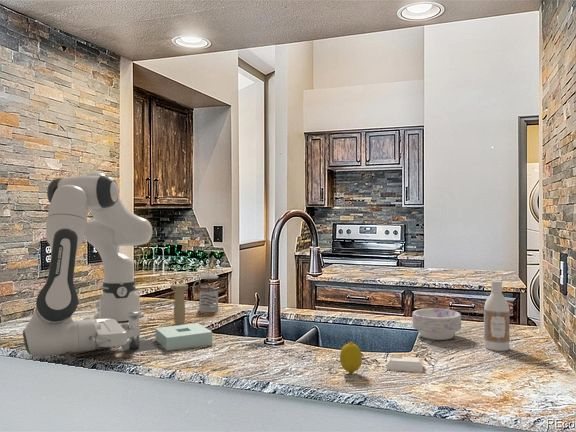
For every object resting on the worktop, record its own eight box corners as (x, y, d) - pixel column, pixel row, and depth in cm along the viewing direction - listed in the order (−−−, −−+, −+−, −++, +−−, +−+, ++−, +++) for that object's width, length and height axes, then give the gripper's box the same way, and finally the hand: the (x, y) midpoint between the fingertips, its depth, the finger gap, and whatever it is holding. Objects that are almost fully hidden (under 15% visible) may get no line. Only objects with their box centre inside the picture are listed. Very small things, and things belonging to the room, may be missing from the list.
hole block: (155, 340, 157) (155, 328, 157) (197, 334, 164) (197, 322, 164) (167, 351, 145) (167, 337, 145) (212, 344, 151) (212, 331, 151)
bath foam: (485, 350, 144) (485, 282, 143) (483, 344, 150) (483, 279, 150) (511, 352, 142) (510, 283, 141) (507, 346, 148) (507, 279, 148)
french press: (218, 312, 201) (218, 250, 201) (190, 312, 201) (190, 251, 201) (222, 307, 211) (221, 249, 211) (195, 307, 211) (194, 249, 211)
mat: (119, 344, 152) (119, 343, 152) (151, 340, 157) (151, 339, 157) (126, 354, 142) (126, 353, 142) (161, 349, 147) (161, 348, 147)
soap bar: (422, 373, 125) (422, 363, 125) (386, 371, 127) (386, 360, 127) (422, 367, 130) (422, 357, 130) (387, 365, 132) (387, 355, 132)
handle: (181, 329, 171) (181, 286, 171) (168, 327, 175) (167, 285, 174) (191, 326, 175) (190, 284, 175) (177, 324, 179) (177, 283, 179)
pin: (126, 347, 148) (125, 311, 148) (139, 345, 150) (139, 310, 149) (128, 351, 144) (128, 314, 144) (142, 349, 146) (142, 312, 146)
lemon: (338, 370, 126) (337, 339, 126) (359, 369, 127) (359, 338, 127) (342, 377, 121) (342, 345, 121) (364, 377, 121) (364, 344, 121)
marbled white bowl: (403, 337, 159) (403, 312, 159) (425, 329, 170) (425, 306, 170) (448, 345, 149) (448, 319, 149) (469, 336, 160) (469, 312, 160)
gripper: (92, 331, 131) (145, 325, 138) (83, 317, 149) (130, 312, 156) (92, 355, 132) (145, 347, 138) (83, 337, 149) (130, 332, 156)
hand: (137, 328), depth 147 cm, fingers open, 5 cm apart
